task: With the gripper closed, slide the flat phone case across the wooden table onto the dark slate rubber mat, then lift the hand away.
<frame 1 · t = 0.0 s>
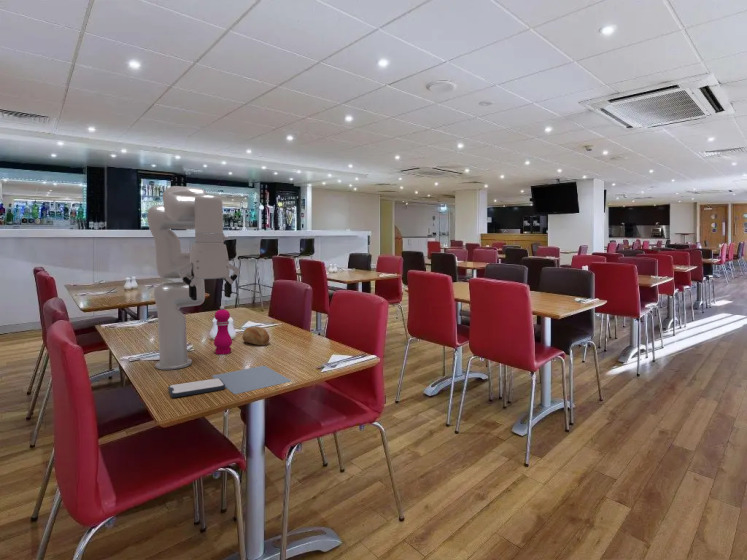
hand: (211, 298, 123), 31 cm above the table, tool pointing down, fingers open, 9 cm apart
pepper mill: (223, 353, 179), on the table
bread roll: (255, 344, 194), on the table
slate mat: (250, 378, 147), on the table
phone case: (197, 390, 136), on the table, touching slate mat
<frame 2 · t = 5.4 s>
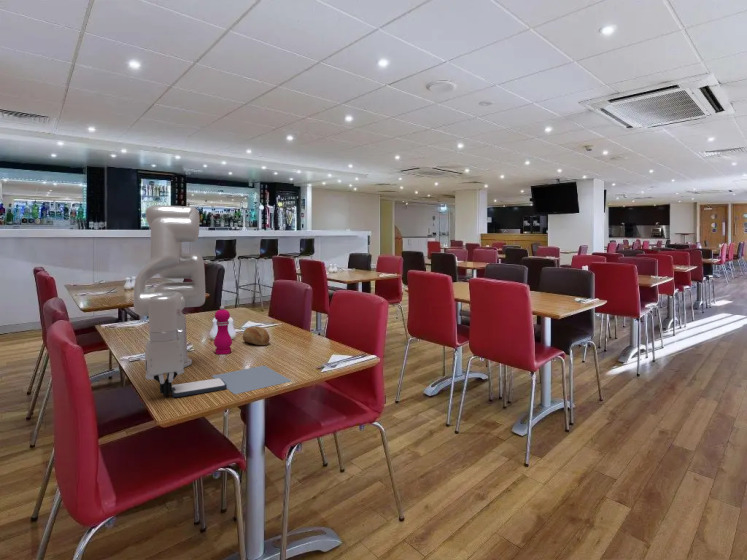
hand: (166, 394, 130), 1 cm above the table, tool pointing down, fingers closed
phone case: (198, 390, 136), on the table, touching gripper, slate mat
everything else where it was.
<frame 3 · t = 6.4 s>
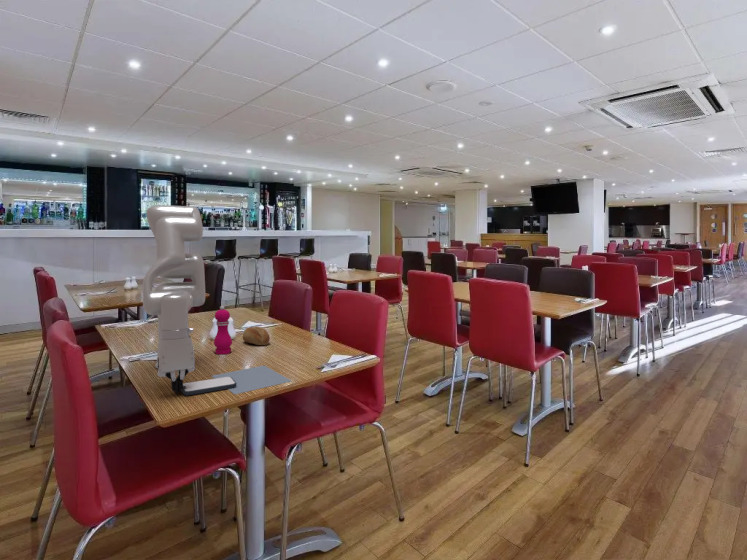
hand: (177, 391, 131), 1 cm above the table, tool pointing down, fingers closed
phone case: (208, 388, 137), on the table, touching gripper
everything else where it was.
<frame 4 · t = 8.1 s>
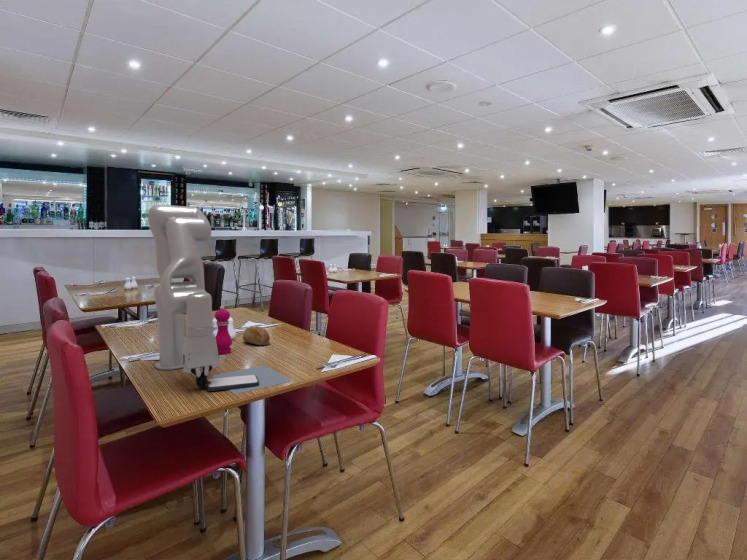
hand: (201, 387, 136), 1 cm above the table, tool pointing down, fingers closed
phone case: (233, 385, 140), resting on slate mat
everything else where it was.
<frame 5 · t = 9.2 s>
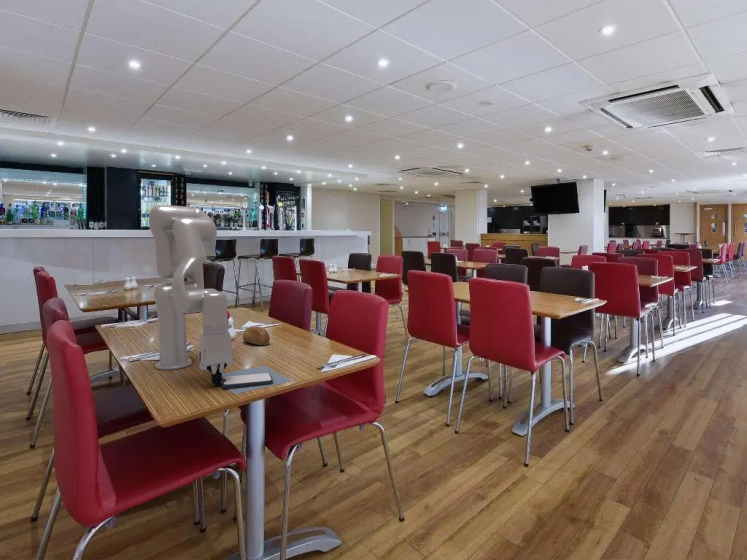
hand: (216, 384, 139), 1 cm above the table, tool pointing down, fingers closed
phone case: (247, 383, 142), resting on slate mat
everything else where it was.
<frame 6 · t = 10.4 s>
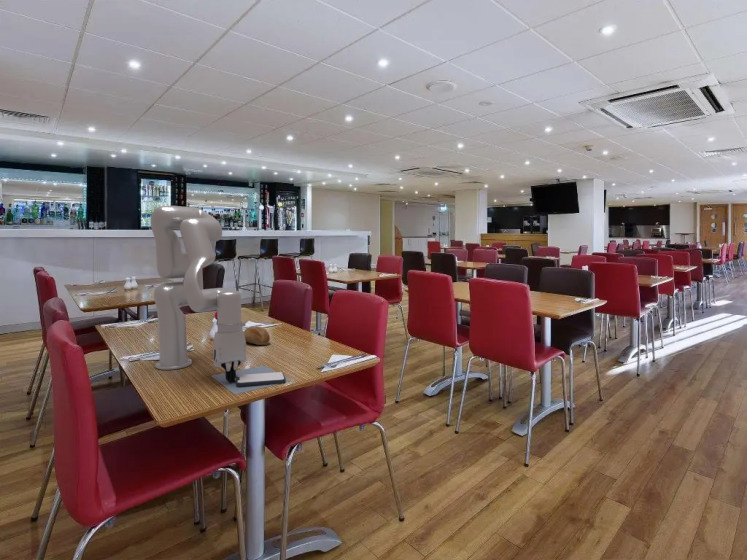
hand: (230, 381, 142), 1 cm above the table, tool pointing down, fingers closed
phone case: (260, 381, 144), resting on slate mat, touching gripper
everything else where it was.
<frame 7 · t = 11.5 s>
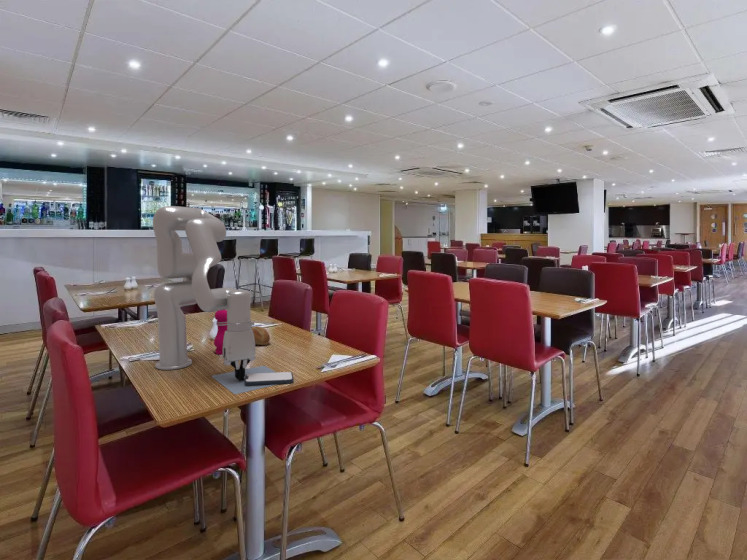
hand: (240, 379, 145), 1 cm above the table, tool pointing down, fingers closed
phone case: (269, 381, 145), resting on slate mat, touching gripper
everything else where it was.
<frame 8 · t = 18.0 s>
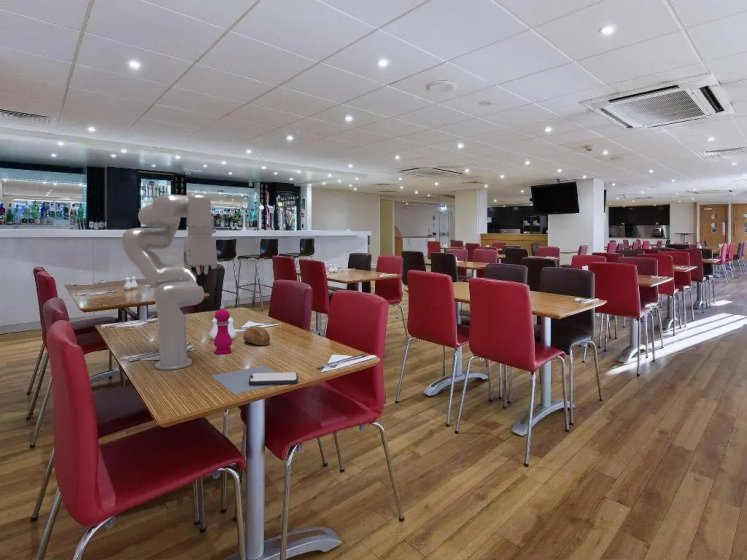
hand: (201, 285, 145), 32 cm above the table, tool pointing down, fingers closed
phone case: (273, 381, 145), resting on slate mat
everything else where it was.
at the end: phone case inside the target area on the slate mat (8.1 cm from its centre), point 0.0 cm above the slate mat's base; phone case moved 24.3 cm from its start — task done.
